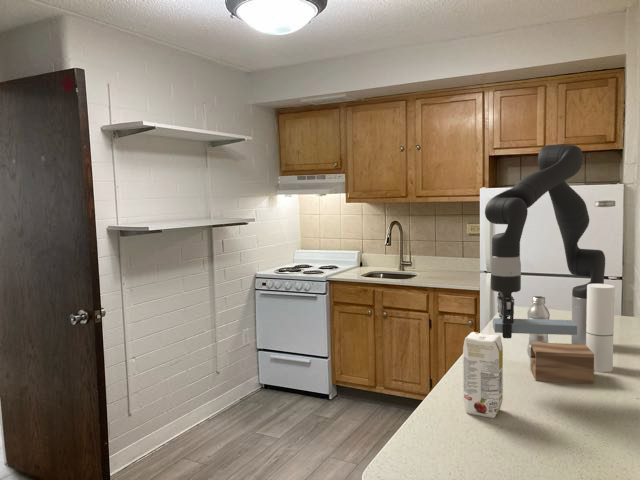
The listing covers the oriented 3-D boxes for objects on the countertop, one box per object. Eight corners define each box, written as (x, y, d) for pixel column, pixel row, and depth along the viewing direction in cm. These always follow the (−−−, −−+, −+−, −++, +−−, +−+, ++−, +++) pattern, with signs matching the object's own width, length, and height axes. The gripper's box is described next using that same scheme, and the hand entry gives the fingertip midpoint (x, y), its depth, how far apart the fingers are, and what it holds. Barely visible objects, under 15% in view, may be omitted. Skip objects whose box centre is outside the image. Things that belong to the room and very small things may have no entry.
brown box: (530, 369, 156) (530, 342, 155) (584, 372, 152) (585, 344, 151) (535, 380, 147) (535, 351, 146) (593, 383, 143) (594, 354, 142)
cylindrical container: (611, 365, 157) (613, 284, 155) (613, 373, 151) (615, 288, 148) (585, 362, 160) (586, 283, 158) (586, 370, 154) (587, 287, 151)
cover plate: (492, 326, 143) (492, 318, 143) (571, 328, 138) (571, 320, 138) (494, 332, 137) (494, 323, 137) (577, 335, 132) (577, 325, 132)
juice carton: (497, 420, 122) (497, 342, 121) (461, 413, 127) (460, 337, 125) (504, 409, 129) (504, 334, 127) (469, 402, 133) (469, 330, 131)
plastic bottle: (552, 362, 161) (552, 299, 159) (529, 362, 162) (529, 299, 160) (547, 356, 167) (548, 295, 165) (525, 355, 169) (525, 295, 167)
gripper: (524, 277, 130) (524, 342, 131) (517, 268, 144) (516, 328, 145) (493, 277, 132) (493, 341, 133) (488, 268, 146) (488, 327, 147)
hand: (505, 334), depth 139 cm, fingers closed on cover plate, 6 cm apart
